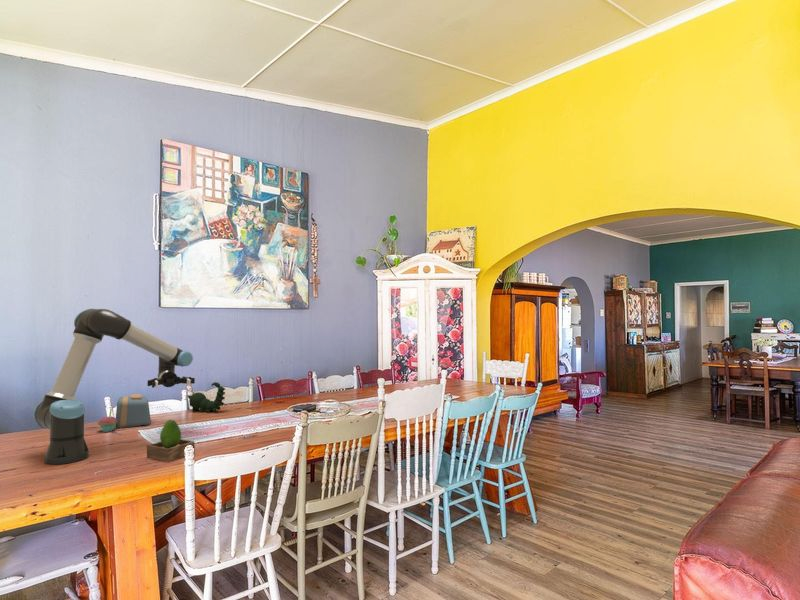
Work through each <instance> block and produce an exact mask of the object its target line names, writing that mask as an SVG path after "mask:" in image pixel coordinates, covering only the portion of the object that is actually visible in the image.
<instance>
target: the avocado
mask: <svg viewBox="0 0 800 600" xmlns="http://www.w3.org/2000/svg"><path fill="white" fill-rule="evenodd" d="M162 427H163V428H162V430H161V432H160V437H159V440H160V442H161V443H162V445H163V446H164V447H165V448H172V447H175V446H176V445H177V444H178V443H179V442H180V439H182V431H181V428H180V426H179V424H178V423H177V421H176V420H173V419H168V420H166V421H165V422H164V424H163V426H162Z"/></svg>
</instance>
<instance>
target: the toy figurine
mask: <svg viewBox="0 0 800 600" xmlns="http://www.w3.org/2000/svg"><path fill="white" fill-rule="evenodd" d="M214 386H215V387H216V388H217V392H216V396H215V399H214V400H210V399H208V398H207V397H206V395H205V394H204V393H202V392H194V393H192V394H191V395H186V397H187V398H188V399H189V400H188V401H189V406H190V407H191V410H192V411H193V412H197V410H198V411H199V412H204V411H206V412H205V413H207V412H209V413H210V412H216V411H217V410H218V411H219V410H221V406H224V405H225V402H224V401H223V400H225V398H226V397H225V396H224V395H226V392H225V390H226V387H223V386H221V384H220V383H219V382H217V381H216V382H213V383H211V387H214Z"/></svg>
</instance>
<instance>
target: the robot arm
mask: <svg viewBox="0 0 800 600" xmlns="http://www.w3.org/2000/svg"><path fill="white" fill-rule="evenodd" d="M73 325H74V326H73V327H74V330H73V332H72V336H73V337H74V340H73V341H72V344H71V346H70V348H69V351H68V353H67V356H66V358H65V360H64V362H63V364H62V367H61V369H60V371H59V373H58V375H57V378H56V379H55V383H54V385H53V387H52V389H51V390H50V392H47V393H45V395H44V396H43V399H42V401H40V402H39V403H38V404H37V405H36V406H35V407H34V409H33V412H32V418H33V420H34V422H35V423H36V424H37V425H38V426H39V427H41V428H42V429H47V430H49V444H48V447H47V449H46V452H45V455H44V463H45V464H47V465H64V464H70V463H76V462H80V461H82V460H85V459H87V458H88V457H89V456H90V450H89V448H88V445H87V442H86V440H85V412H86V411H85V405H84V402H82V400H81V401H80V400H79V399H76V398H75V394H76V392H77V389H78V387H79V385H80V382H81V381H82V378H83V375H84V374H85V371H86V368H87V366H88V364H89V362H90V359H91V357H92V354H93V352H94V350H95V347H96V345H97V344H99V343H101V342H102V340H103V338H104V336H107V337H111V338H114V339H116V340H118V341H120V340H123V341H125V342H128V343H130V344H132V345H134V346H135V347H138V348H140V349H143V350H144V351H147V352H149V353H151V354H152V355H155V356H157V357H158V370H157V371H158V373H157V377H154V378H151V379H149V380H147V384H146V385H147V387H151V388H152V389H153V388H156V389H158V387H159V386H160V385H162V386H164V387H165V388H172V387H174V386H175V385H179V384H186V385H187V386H188V387H190V386H191V384H195V382H196V381H195V380H196V379H195V377H191V376H182V377H180V376H178V375H177V374H176V372H175V371H176V367H188V366H190V365H191V364H192V362H193V360H194V357H193V354H192V353H191V352H190V351H187V350H183V349H180V348H179V347H177V346H174V345H173V344H171V343H170V342H167V341H166V340H163V339H161V338H159V337H157V336H155V335H153V334H151V332H147V331H145V330H144V329H142V328H140V327H138V326H136V325H134V324H132V321H131V320H129V319H127V318H126V317H124V316H122V315H120V314H118V313H116V312H114V311H113V310H110V309H106V308H89V309H85V310H82V311H80V312H79V313H78V314H77V315H76V316H75V318H74V321H73ZM175 366H176V367H175Z"/></svg>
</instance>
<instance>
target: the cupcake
mask: <svg viewBox="0 0 800 600" xmlns="http://www.w3.org/2000/svg"><path fill="white" fill-rule="evenodd" d="M112 410H113V408H112V407H110V410H109V415H108V416H104V417H101V418H100V419H99V420H98V422H97V425H98V426H100V428H101V430H102V433H103V432H104V433H106V432H107V433H108V431H109V432H112V430H113V431H114V429H115V427H116V423H117V421H118V420H117V419H116V416H115V417H114V416H112Z"/></svg>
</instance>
